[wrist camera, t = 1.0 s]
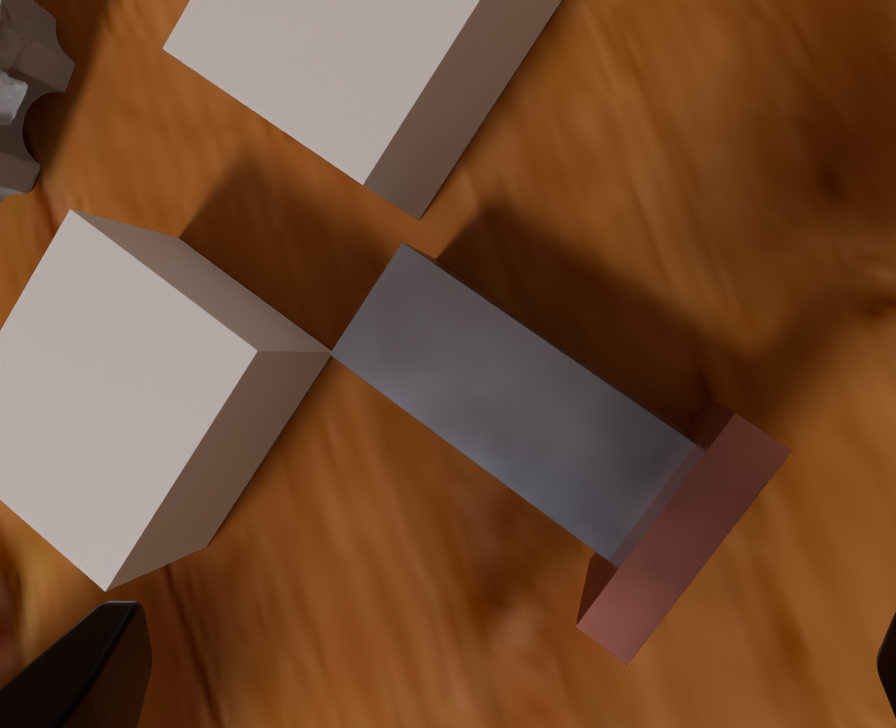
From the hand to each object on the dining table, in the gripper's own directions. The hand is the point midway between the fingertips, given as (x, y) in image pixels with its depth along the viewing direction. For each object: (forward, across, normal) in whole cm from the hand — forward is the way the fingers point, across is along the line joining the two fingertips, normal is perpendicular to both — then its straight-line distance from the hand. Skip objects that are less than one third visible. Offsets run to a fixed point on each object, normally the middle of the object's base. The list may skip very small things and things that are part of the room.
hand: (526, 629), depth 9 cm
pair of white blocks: (+15, +5, 0) cm, 16 cm away
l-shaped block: (+11, -2, +3) cm, 12 cm away
